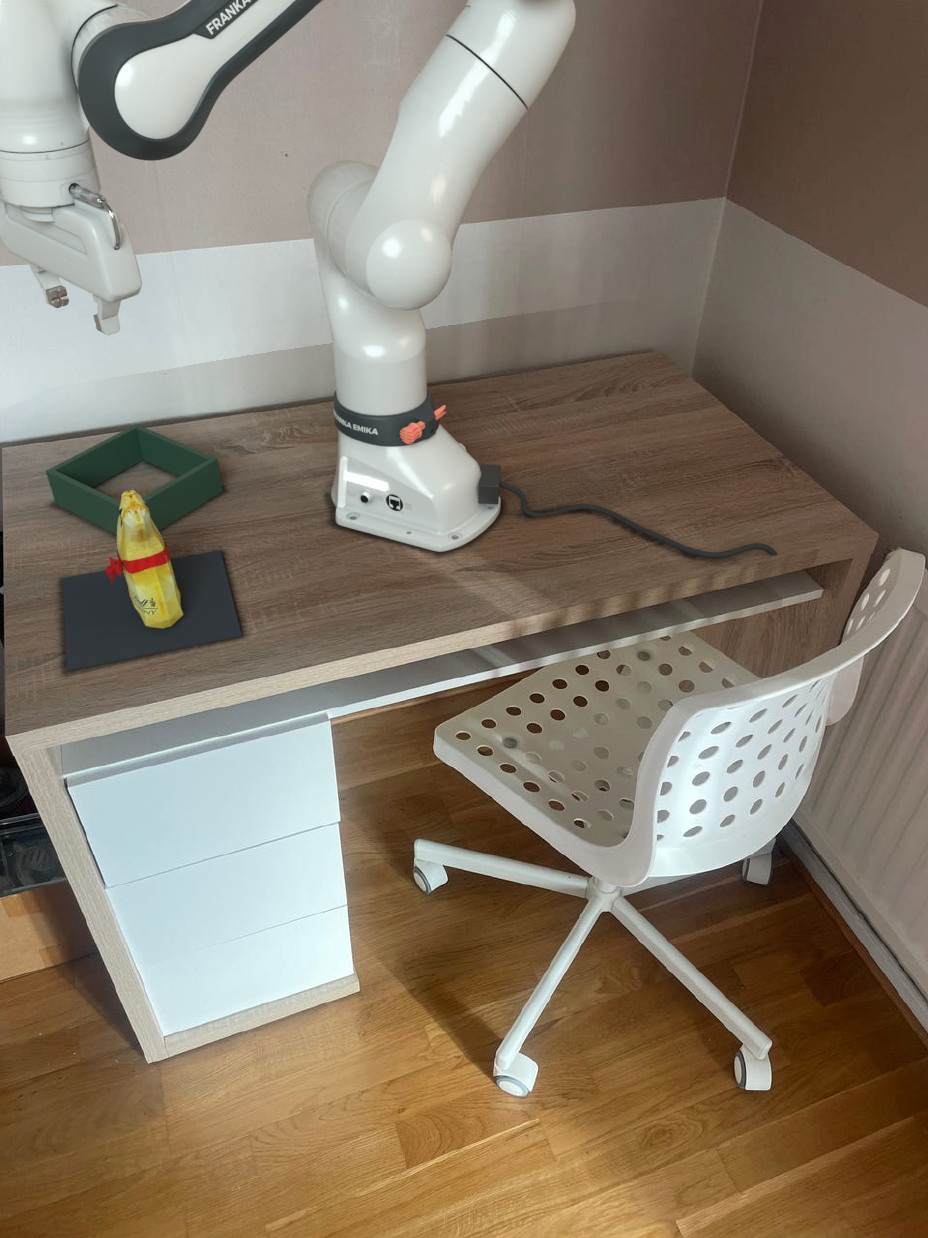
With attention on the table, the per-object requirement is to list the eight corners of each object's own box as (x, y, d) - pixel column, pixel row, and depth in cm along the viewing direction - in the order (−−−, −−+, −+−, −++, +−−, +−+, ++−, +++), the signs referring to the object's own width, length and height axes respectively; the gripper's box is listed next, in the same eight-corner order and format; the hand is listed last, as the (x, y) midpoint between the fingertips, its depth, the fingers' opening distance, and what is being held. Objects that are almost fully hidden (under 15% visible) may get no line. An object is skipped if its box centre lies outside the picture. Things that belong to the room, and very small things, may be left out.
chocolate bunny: (167, 570, 114) (141, 459, 104) (192, 625, 106) (167, 511, 97) (107, 586, 111) (75, 474, 102) (129, 644, 104) (97, 528, 94)
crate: (223, 491, 127) (217, 458, 124) (136, 545, 118) (128, 510, 115) (143, 456, 134) (136, 423, 131) (55, 504, 125) (45, 470, 121)
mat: (221, 552, 117) (220, 550, 117) (242, 636, 106) (241, 633, 106) (63, 580, 113) (63, 578, 112) (67, 671, 101) (66, 668, 101)
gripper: (141, 191, 86) (169, 339, 95) (23, 145, 97) (58, 282, 106) (78, 207, 83) (113, 359, 92) (-38, 157, 93) (4, 299, 102)
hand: (83, 318), depth 99 cm, fingers open, 8 cm apart
